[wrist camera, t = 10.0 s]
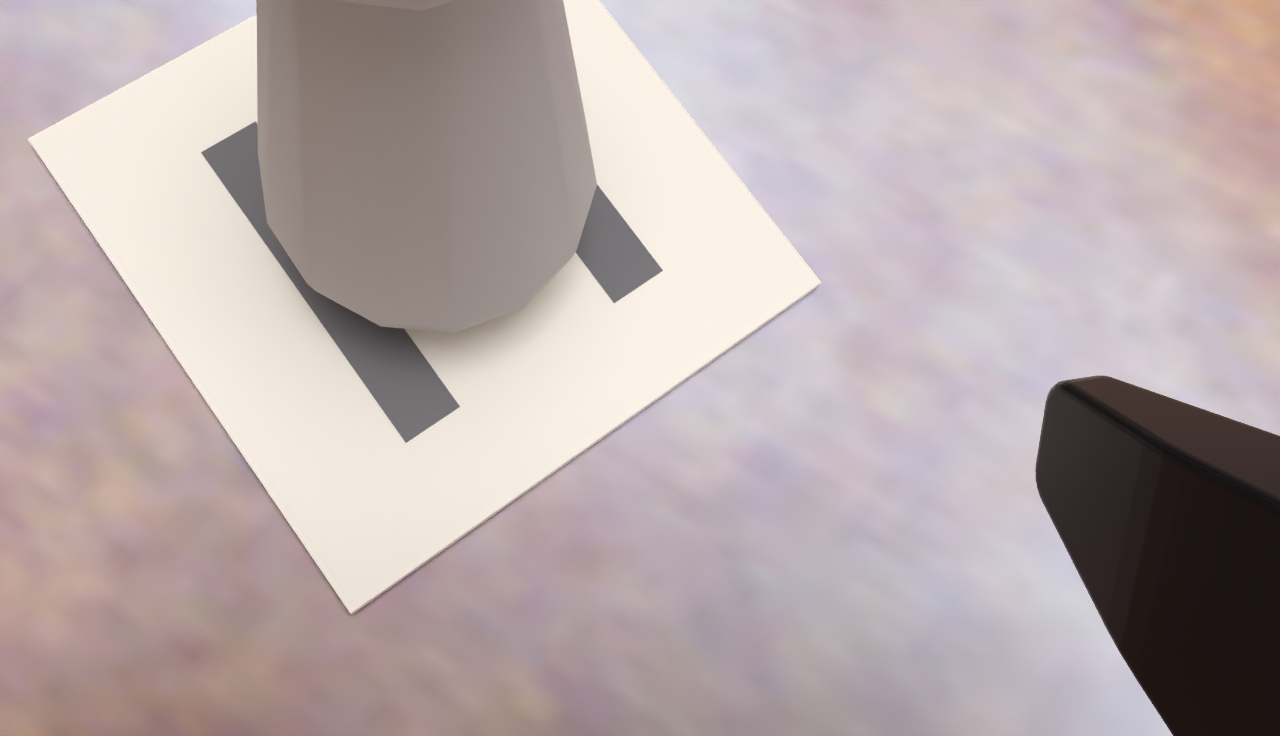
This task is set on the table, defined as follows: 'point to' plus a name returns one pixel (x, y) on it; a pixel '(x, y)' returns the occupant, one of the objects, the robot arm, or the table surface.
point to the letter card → (407, 358)
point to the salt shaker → (422, 152)
